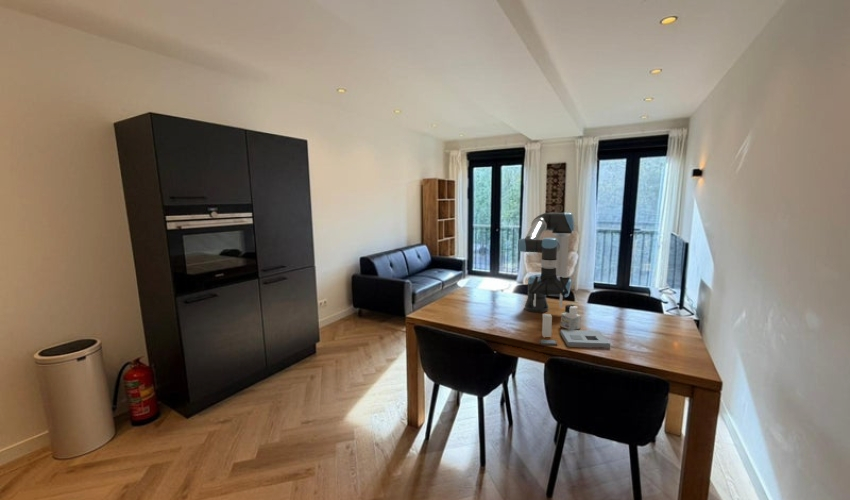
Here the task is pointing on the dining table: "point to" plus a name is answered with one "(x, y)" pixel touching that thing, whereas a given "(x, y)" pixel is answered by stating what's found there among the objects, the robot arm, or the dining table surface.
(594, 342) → the outlet plate
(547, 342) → the phone
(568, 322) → the container
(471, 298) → the dining table surface
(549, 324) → the light grey rectangular block
